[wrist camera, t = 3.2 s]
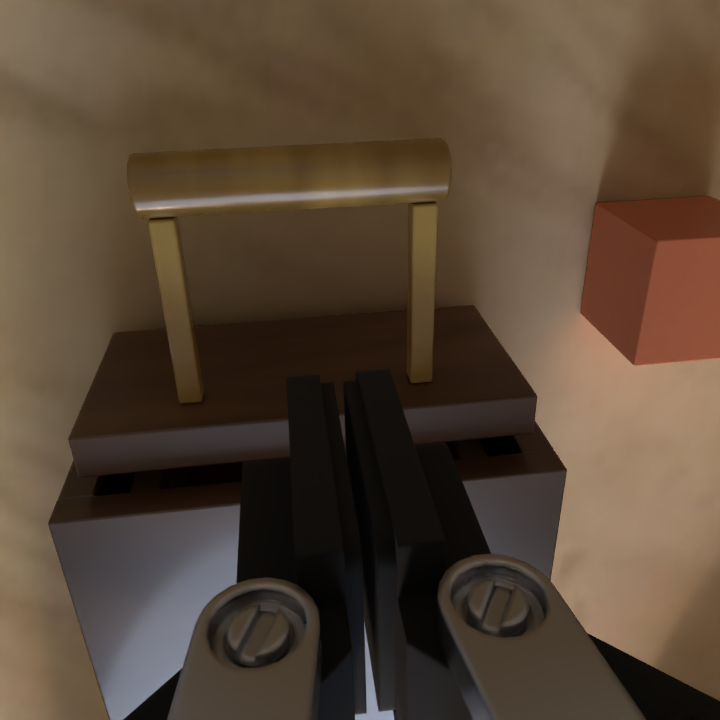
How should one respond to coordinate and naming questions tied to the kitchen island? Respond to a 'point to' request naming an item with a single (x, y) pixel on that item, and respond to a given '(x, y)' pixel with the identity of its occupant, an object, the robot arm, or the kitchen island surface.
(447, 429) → the drawer
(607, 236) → the block
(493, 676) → the robot arm
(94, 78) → the kitchen island surface
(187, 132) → the kitchen island surface
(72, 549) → the cabinet
